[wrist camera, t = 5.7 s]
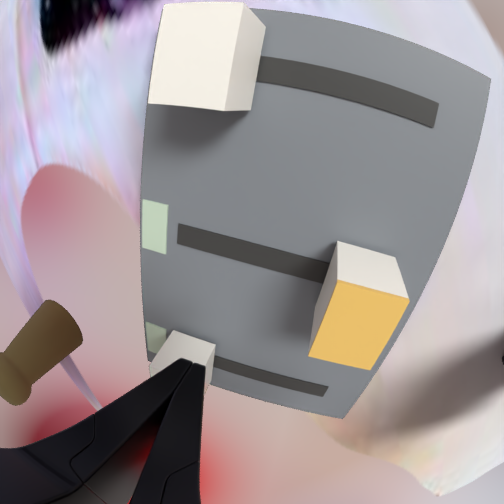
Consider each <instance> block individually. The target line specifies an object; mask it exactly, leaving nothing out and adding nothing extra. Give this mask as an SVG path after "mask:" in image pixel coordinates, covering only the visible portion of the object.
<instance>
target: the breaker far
mask: <svg viewBox="0 0 504 504" xmlns="http://www.w3.org/2000/svg"><path fill="white" fill-rule="evenodd" d="M215 346H216V344H213V343H210V342H207V341H204V340H201V339H198V338H195V337H192V336H189V335H186V334H183V333H181V332H178V331H175V330H173V331H172V333H171V334H170V336H169V337H168V339H167V340H166V342H165V343H164V344H163V346H162V347H161V349H160V350H159V352H158V353H157V355H156V356H155V358H154V359H153V361H152V362H151V364H150V365H149V370H150V378H151V377H152V376H154V375H155V374H157V373H158V372H160V371H161V370H163V369H164V368H166V367H167V366H169V365H170V364H172V363H173V362H175V361H176V360H178V359H179V358H184V359H187V360H190V361H192V362H193V363H198V364H201V365H204V366H206V374H205V387H204V395H205V393H206V390H207V388H208V386H209V384H210V382H211V379H212V370H213V362H214V354H215Z"/></svg>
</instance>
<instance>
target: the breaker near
mask: <svg viewBox="0 0 504 504" xmlns="http://www.w3.org/2000/svg"><path fill="white" fill-rule="evenodd" d="M265 29H266V26H265V25H264V24H263V23H262V22H261V21H260V20H259V18H258V17H257V16H256V15H255V14H254V13H253V12H252V11H251V10H250V8H249V7H248V6H247V5H246V4H245V3H243V2H189V3H173V4H164V8H163V12H162V17H161V22H160V27H159V32H158V38H157V43H156V49H155V55H154V61H153V68H152V74H151V82H150V89H149V97H148V103H150V104H164V105H176V106H187V107H196V108H205V109H213V110H220V111H239V110H251V106H252V100H253V94H254V89H255V83H256V78H257V72H258V67H259V61H260V56H261V50H262V45H263V40H264V35H265Z"/></svg>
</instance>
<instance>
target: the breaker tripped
mask: <svg viewBox="0 0 504 504" xmlns="http://www.w3.org/2000/svg"><path fill="white" fill-rule="evenodd" d="M409 302H410V301H409V298H408V294H407V291H406V288H405V285H404V282H403V279H402V276H401V273H400V270H399V267H398V264H397V261H396V258H395V257H393V256H389V255H386V254H382V253H379V252H376V251H372V250H369V249H365V248H362V247H358V246H354V245H351V244H347V243H344V242H340V241H337V244H336V247H335V250H334V253H333V256H332V259H331V262H330V265H329V268H328V271H327V274H326V277H325V280H324V283H323V286H322V289H321V292H320V295H319V297H318V300H317V303H316V306H315V311H314V318H313V326H312V332H311V339H310V346H309V352H308V356H309V357H313V358H317V359H321V360H326V361H330V362H334V363H338V364H343V365H347V366H352V367H356V368H361V369H366V370H371V368H372V367H373V365H374V364H375V362H376V360H377V359H378V357H379V355H380V354H381V352H382V350H383V349H384V347H385V345H386V344H387V342H388V340H389V339H390V337H391V335H392V333H393V331H394V330H395V328H396V326H397V324H398V322H399V321H400V319H401V317H402V315H403V313H404V311H405V309H406V307H407V306H408V304H409Z"/></svg>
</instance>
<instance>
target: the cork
mask: <svg viewBox="0 0 504 504" xmlns="http://www.w3.org/2000/svg"><path fill="white" fill-rule="evenodd" d="M82 341H83V338H82V333H81V331H80V328H79V326H78V325H77V323H76V322H75V320H74V319H73V317H72V316H71V315H70V314H69V312H68V311H67V310H66V309H65V308H63V307H62V306H61V305H60V304H58V303H57V302H55V301H52V300H46V301H45V302H44V303H43V304H42V305H41V306H40V307H39V309H38V310H37V311H36V312H35V313H34V315H33V316H32V317H31V318H30V319H29V321H28V322H27V323H26V324H25V326H24V327H23V328H22V329H21V331H20V332H19V333H18V334H17V336H16V337H15V338H14V339H13V341H12V342H11V343H10V345H9V346H8V347H7V349H6V350H5V351H4V352H3V353H2V352H1V353H0V396H1V397H2V398H3V399H5V400H6V401H7V402H9V403H10V404H12V405H15V406H16V405H21V404H23V403H24V402H26V400H27V399H28V398H29V396H30V394H31V386H32V384H33V383H35V382H36V381H37V380H38V379H40V378H41V377H42V376H43V375H44V374H45V373H47V372H48V371H49V370H50V369H52V368H53V367H54V366H55V365H56V364H58V363H59V362H60V361H61V360H63V359H64V358H65V357H66V356H68V355H69V354H70V353H71V352H72V351H74V350H75V349H76V348H77V347H78V346H80V345H81V344H82Z"/></svg>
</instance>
